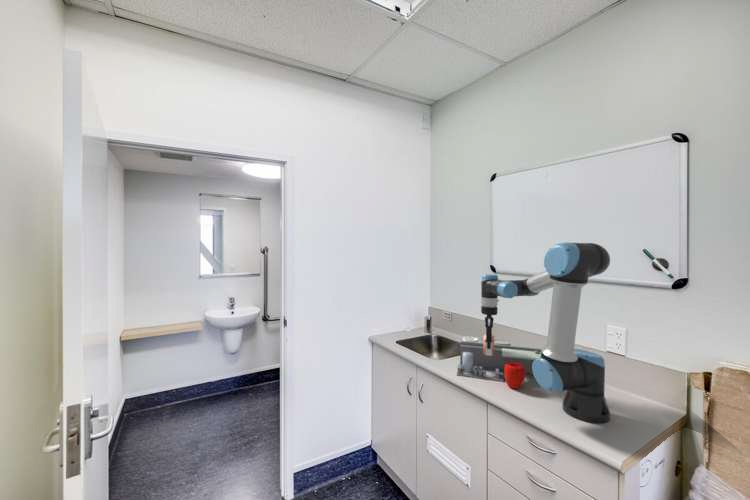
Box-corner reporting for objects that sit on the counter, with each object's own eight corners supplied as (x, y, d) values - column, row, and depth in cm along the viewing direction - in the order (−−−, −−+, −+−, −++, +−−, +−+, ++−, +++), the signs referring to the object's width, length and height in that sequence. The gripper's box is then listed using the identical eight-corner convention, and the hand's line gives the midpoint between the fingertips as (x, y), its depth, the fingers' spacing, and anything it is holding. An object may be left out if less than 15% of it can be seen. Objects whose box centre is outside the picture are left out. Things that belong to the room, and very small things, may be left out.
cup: (486, 356, 187) (486, 339, 187) (468, 359, 183) (468, 341, 183) (477, 352, 195) (477, 335, 195) (460, 354, 191) (460, 337, 191)
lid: (544, 361, 148) (544, 356, 148) (502, 356, 154) (502, 352, 154) (541, 353, 159) (541, 349, 159) (501, 349, 165) (501, 345, 165)
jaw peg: (483, 354, 158) (483, 336, 157) (483, 351, 162) (483, 333, 162) (494, 356, 156) (494, 337, 156) (494, 352, 160) (494, 334, 160)
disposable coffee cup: (491, 365, 173) (492, 343, 172) (491, 360, 182) (491, 338, 182) (511, 368, 170) (511, 345, 170) (509, 362, 179) (510, 340, 179)
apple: (523, 393, 140) (523, 368, 140) (502, 388, 144) (502, 364, 144) (526, 386, 147) (526, 362, 147) (506, 381, 152) (506, 358, 152)
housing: (546, 387, 146) (546, 359, 146) (456, 375, 159) (456, 349, 159) (541, 373, 162) (541, 348, 162) (460, 363, 175) (460, 340, 175)
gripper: (497, 309, 149) (497, 360, 149) (497, 303, 166) (496, 348, 166) (480, 308, 152) (479, 358, 152) (481, 302, 168) (481, 347, 169)
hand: (488, 353), depth 159 cm, fingers closed on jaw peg, 5 cm apart
